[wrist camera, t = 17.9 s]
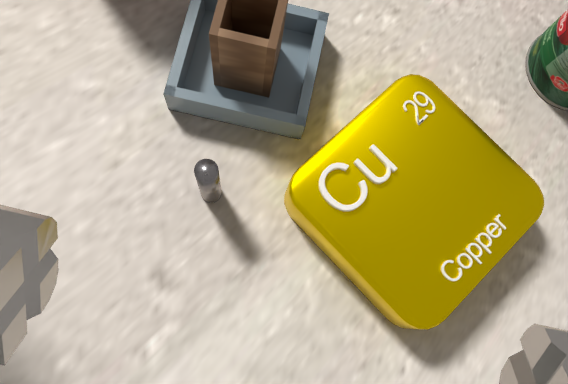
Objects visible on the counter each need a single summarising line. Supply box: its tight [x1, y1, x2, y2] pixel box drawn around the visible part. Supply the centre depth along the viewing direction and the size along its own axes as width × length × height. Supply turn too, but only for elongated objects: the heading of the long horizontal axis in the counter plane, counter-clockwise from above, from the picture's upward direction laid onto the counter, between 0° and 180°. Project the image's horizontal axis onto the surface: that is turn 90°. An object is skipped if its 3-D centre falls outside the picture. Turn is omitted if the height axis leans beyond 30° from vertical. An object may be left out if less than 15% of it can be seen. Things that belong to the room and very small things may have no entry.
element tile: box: [284, 74, 544, 330], centre depth 40 cm, size 15×15×5 cm
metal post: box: [194, 159, 221, 203], centre depth 38 cm, size 2×2×6 cm
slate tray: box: [164, 0, 329, 139], centre depth 42 cm, size 11×10×3 cm
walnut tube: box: [209, 0, 288, 98], centre depth 39 cm, size 5×5×8 cm
